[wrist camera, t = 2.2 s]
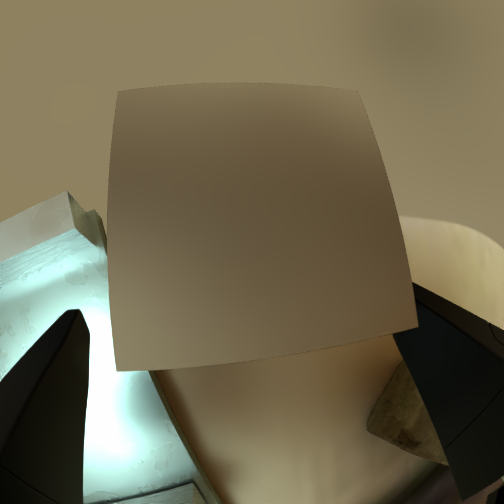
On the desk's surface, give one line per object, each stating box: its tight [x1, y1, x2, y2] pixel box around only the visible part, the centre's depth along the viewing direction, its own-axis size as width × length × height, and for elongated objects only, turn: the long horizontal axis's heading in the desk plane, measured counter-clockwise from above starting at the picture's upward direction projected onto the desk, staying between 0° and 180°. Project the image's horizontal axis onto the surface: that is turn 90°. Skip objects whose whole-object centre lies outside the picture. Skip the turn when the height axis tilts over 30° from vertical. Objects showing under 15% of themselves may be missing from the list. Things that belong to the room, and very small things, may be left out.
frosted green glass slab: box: [0, 191, 223, 504], centre depth 12 cm, size 20×11×4 cm, turn 22°
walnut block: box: [107, 83, 418, 372], centre depth 11 cm, size 5×5×13 cm
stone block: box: [367, 359, 449, 466], centre depth 15 cm, size 6×12×5 cm, turn 59°
